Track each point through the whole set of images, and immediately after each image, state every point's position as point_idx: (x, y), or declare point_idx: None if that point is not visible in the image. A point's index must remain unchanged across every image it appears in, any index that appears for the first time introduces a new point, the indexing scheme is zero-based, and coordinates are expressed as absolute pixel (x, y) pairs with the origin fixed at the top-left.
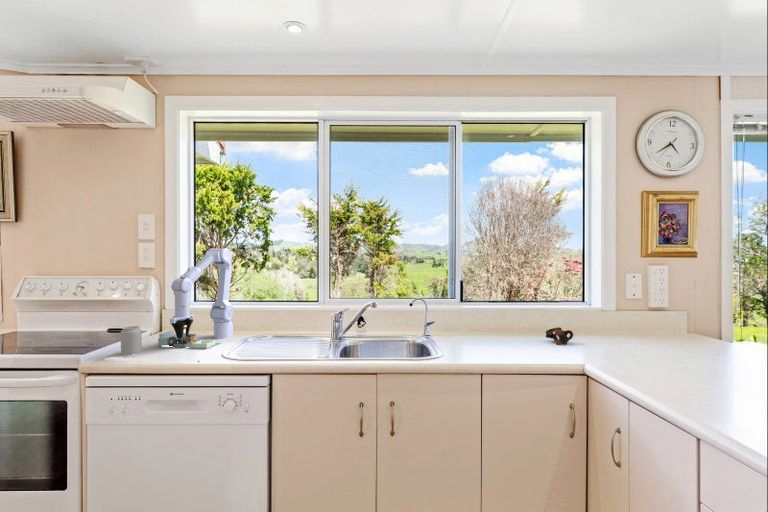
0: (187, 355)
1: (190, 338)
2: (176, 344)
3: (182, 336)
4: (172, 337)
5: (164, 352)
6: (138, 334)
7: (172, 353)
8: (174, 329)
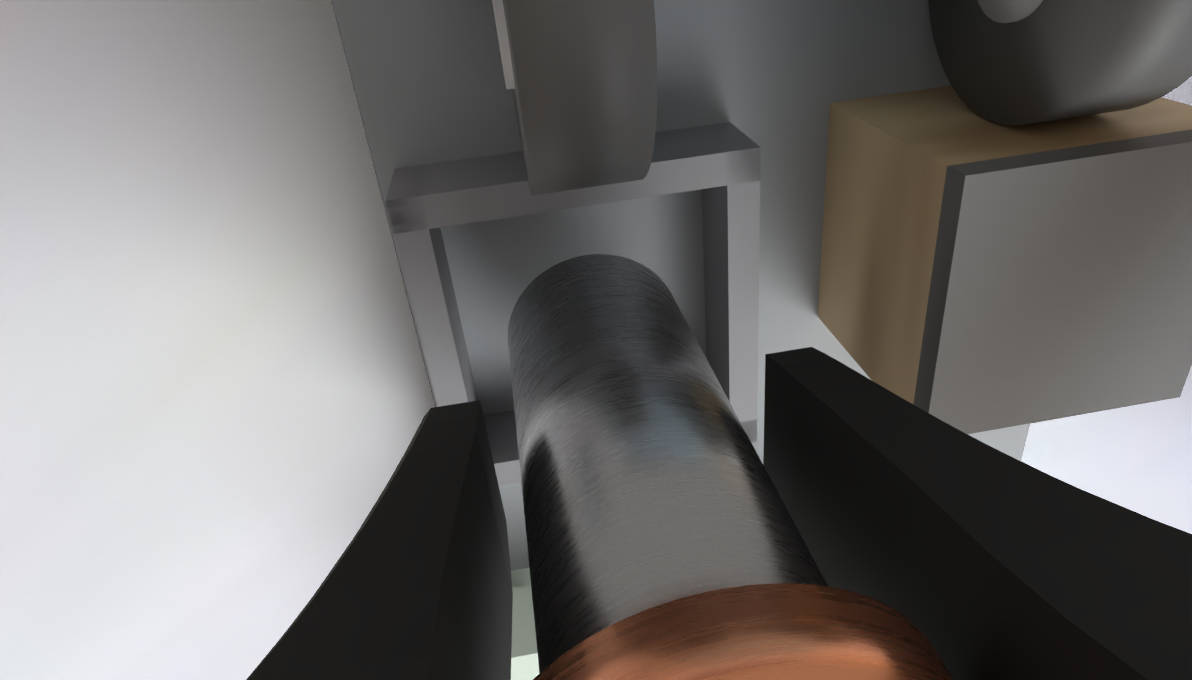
0: (220, 649)
1: (886, 387)
2: (413, 303)
3: (508, 565)
4: (520, 109)
5: (152, 78)
6: None
7: (186, 336)
8: (259, 674)
